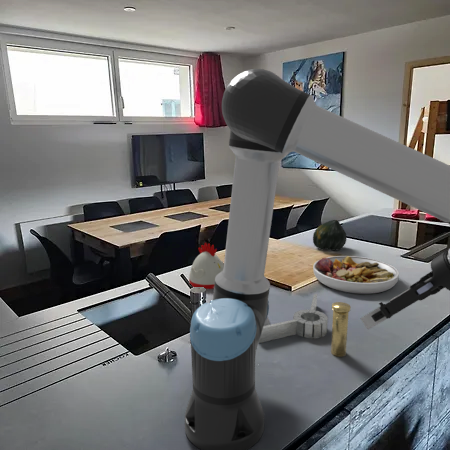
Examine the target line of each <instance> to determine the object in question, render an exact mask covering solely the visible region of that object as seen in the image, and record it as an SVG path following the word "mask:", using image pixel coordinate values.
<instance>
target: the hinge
mask: <svg viewBox="0 0 450 450" xmlns="http://www.w3.org/2000/svg"><path fill="white" fill-rule="evenodd" d="M310 304H311V305H310V309H301V310H298V311H295V312H294V313H293V319H290V320H286V321H285V320H284V321H282V322H277V323H271V324H270V325H267V326H264V327H263V330H262V333H261V336H260V339H259V343H258V344H261V343H265V342H269V341H274V340H278V339H282V338H283V339H284V338H286V337H291V336H294V335H295V336H296V335H297V336H298V337H299V336H300V337H303V338H305V339H319V338H324V337H325V336H327V333H328V322H329V321H328V320H329V319H328V318H329V317H328V316H327V315H326V314H325V313H324V312H322V311H319V310H317V305H318V294H316V293H313V297H312V301H311V303H310Z"/></svg>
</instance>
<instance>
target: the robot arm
mask: <svg viewBox="0 0 450 450" xmlns="http://www.w3.org/2000/svg"><path fill="white" fill-rule="evenodd" d="M315 101H316V100H314V96H313V95H311V94H309V93H308V92H305V91H303V90H301V89H299V88H298V87H295V86H294V85H292V84H290V83H288V82H287V81H286V80H284V79H282V77H280V76H279V75H277V74H276V73H274V72H273V71H270V70H267V69H263V68H252V69H247V70H244V71H242V72H240V73H238V74H237V75H236V76H235V77H234V78H233V79H231V80H230V82H229V83H228V84H227V86H226V88H225V90H224V92H223V96H222V100H221V112H222V117H223V120H224V122H225V125H226V126H227V127H228V129H229V130H230V132H229V141H228V148H229V150H230V151H232V153H233V155H234V157H235V159H234V166H233V167H234V169H233V177H232V178H233V179H232V186H231V198H230V206H229V215H228V223H227V224H228V225H227V234H226V243H225V251H224V253H225V254H224V261H223V263H224V269H223V271H222V272H220V273H219V274H218V275H217V276H216V277H215V285H214V288H213V296H212V299H211V300H210V301H209V302H204V303H202V304H201V305H200V306H199V307H197V309H195V311H194V312H193V314H192V317H191V320H190V328H189V339H190V351H191V353H190V354H191V374H192V375H191V377H192V378H191V379H192V390H191V394H190V397H189V399H188V403H187V406H186V409H185V412H184V431H185V434H186V437H187V439H188V440H189V441H190V442H191V444H193V445H194V446H195V447H196V448H197V449H199V450H249V449H250V448H253V446H255V445H256V444H257V443H258V441H260V439H261V438H262V436H263V434H264V430H265V412H264V408H263V406H262V403H261V400H260V398H259V395H258V392H257V390H256V355H257V350H258V346H259V344H260V343H259V339H260V336H261V333H262V330H263V327H264V323H265V320H266V319H267V316H268V317H269V313H270V312H269V310H270V304H269V303H270V302H269V296H270V289H271V288H270V287H271V283H270V281H269V280H268V278H267V277H266V276H265V273H266V271H265V270H266V264H267V258H268V257H267V256H268V250H269V249H268V248H269V240H270V235H271V228H272V227H271V226H272V220H273V213H274V206H275V199H276V190H277V185H278V184H277V183H278V175H279V167H280V162H281V161H282V160H283V159H284V158H286V156H288V155H289V154H290V153H293V152H294V153H297V154H299V155H300V156H303V157H304V158H307V159H309V160H312V161H314V162H316V163H317V164H321V165H322V166H323V167H326V168H328V169H331V170H333V171H335V172H337V173H339V174H341V175H343V176H346V177H348V178H350V179H352V180H354V181H357V182H359V183H361V184H363V185H364V186H367V187H369V188H372V189H374V190H375V191H378V192H380V193H382V194H385V195H386V196H389V197H390V198H393V199H395V200H397V201H399V202H402V203H403V204H406V205H408V206H410V207H413V208H415V209H417V210H419V211H421V212H423V213H425V214H427V215H430V216H432V217H434V218H437V219H438V220H440V221H442V222H444V223H447V224H448V225H450V164H448V163H445V162H442V161H440V160H438V159H436V158H434V157H432V156H429V155H428V154H425V153H423V152H420V151H419V150H417V149H414V148H411V147H409V146H407V145H405V144H403V143H400V142H399V141H396V140H394V139H392V138H390V137H387V136H385V135H383V134H380V133H378V132H377V131H374V130H373V129H370V128H368V127H365V126H363V125H361V124H358V123H357V122H354V121H353V120H350V119H348V118H346V117H344V116H341V115H340V114H339V115H338V114H337V113H335V112H333V111H330V110H327V109H326V108H323V107H320V106H319V105H317V104H316V102H315ZM430 269H431V271H430V272H428V273H426V274H425V275H423V276H422V277H420V278H419V280H418V281H416V282H414V283H413V284H411V285H410V286H409V288H408V289H406V290H404V291H402V292H401V293H399V294H397V295H396V296H394V297H392V298H391V299H389V301H388V302H386V303H384V302H382V301H380V302H379V303H378V305H380V306H379V307H377V308H375V309H373V310H372V311H370V312H368V313H367V314H365V315H363V316H361V317H360V320H361V322H362V323H363V325H364V326H365V328H366V329H367V330H370V329H371V328H373V327H375V326H377V325H378V324H380V323H382V322H384V321H386V320H387V319H390V318H392V317H393V316H394V315H396V314H398V313H399V312H401V311H403V310H405V309H406V308H408V307H409V306H412V305H413V304H415V303H416V302H418V301H421V302H422V301H424V300H425V299H426V298H429V297H431V296H433V295H436V294H438V293H440V292H441V291H442V290H444V289H446V290H448V291H450V248H448V250H446V251H444V252H442V253H441V254H439V255H438V256H436V257H434V258H432V260H431V262H430Z"/></svg>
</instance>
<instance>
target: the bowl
mask: <svg viewBox="0 0 450 450" xmlns="http://www.w3.org/2000/svg"><path fill="white" fill-rule="evenodd" d="M312 266H313V268H312V269H313V274H314V276H315V278H316V279H317V280H318V281H319V283H321V284H323V285H324V286H327V287H329V288H330V289H333V290H337V291H340V292H345V293H351V294H361V295H365V294H366V295H367V294H370V295H371V294H377V293H381V292H382V293H383V292H385V291H389V290H390V289H392V288H393V287H394V286H395V285H396V284H397V283H398V281H399V279H400V278H399V277H400V272H399V270H398V269H397V268H396V267H395V266H393V265H391V264H389V263H387V262H385V261H382V260H379V259H375V258H369V257H364V256H355V255H352V256H351V255H337V256H336V255H335V256H329V257H321V259H318V260H316V261H315V262H314V263H313V265H312Z"/></svg>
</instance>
